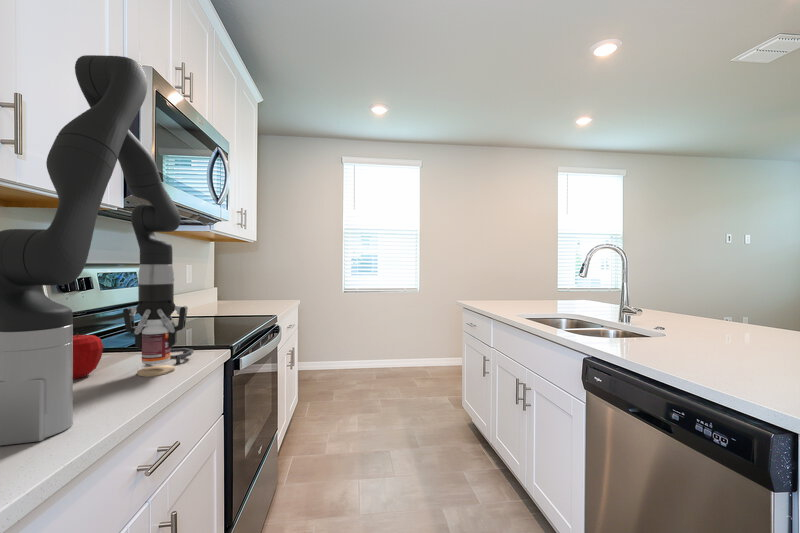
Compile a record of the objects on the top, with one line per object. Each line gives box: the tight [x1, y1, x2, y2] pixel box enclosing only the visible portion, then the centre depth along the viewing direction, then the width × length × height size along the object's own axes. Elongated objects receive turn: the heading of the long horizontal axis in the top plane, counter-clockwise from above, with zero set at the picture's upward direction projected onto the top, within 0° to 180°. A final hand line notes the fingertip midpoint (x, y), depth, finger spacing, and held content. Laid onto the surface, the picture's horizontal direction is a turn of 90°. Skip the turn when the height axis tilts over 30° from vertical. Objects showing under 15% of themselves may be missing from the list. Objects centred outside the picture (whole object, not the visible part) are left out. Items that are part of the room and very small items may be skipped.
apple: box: [73, 332, 104, 380], centre depth 90 cm, size 10×10×11 cm
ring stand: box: [170, 347, 195, 365], centre depth 105 cm, size 10×10×2 cm
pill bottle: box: [141, 319, 171, 365], centre depth 94 cm, size 6×6×11 cm
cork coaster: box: [136, 364, 176, 377], centre depth 94 cm, size 8×8×1 cm
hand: (156, 347), depth 94 cm, fingers closed on pill bottle, 6 cm apart
